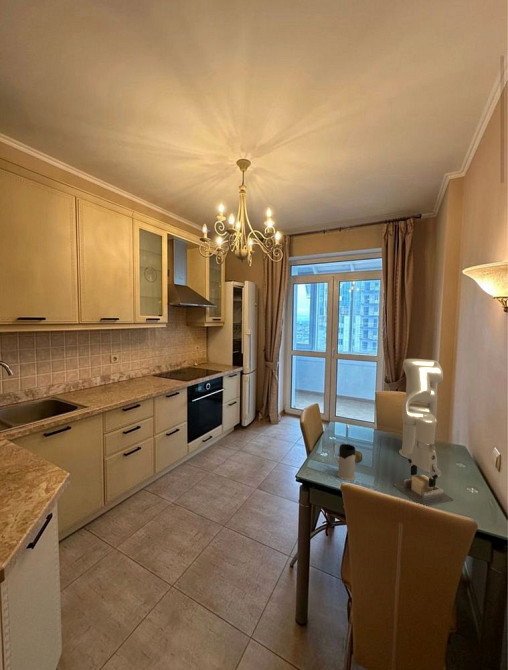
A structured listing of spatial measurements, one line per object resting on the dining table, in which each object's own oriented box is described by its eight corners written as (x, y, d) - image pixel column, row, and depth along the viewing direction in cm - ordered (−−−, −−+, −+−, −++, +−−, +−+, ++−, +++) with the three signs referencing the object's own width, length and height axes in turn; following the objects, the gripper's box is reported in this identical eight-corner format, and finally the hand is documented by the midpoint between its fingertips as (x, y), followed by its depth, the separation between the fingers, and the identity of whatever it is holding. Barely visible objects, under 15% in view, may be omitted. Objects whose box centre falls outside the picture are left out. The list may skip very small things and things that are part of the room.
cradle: (422, 480, 135) (422, 473, 135) (453, 500, 120) (453, 492, 120) (392, 485, 130) (393, 477, 130) (421, 506, 115) (422, 498, 115)
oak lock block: (422, 486, 128) (423, 474, 128) (432, 493, 124) (433, 480, 123) (411, 489, 126) (412, 476, 126) (420, 495, 122) (421, 482, 121)
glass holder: (345, 482, 131) (347, 452, 131) (326, 467, 144) (328, 440, 144) (359, 478, 135) (360, 449, 134) (339, 465, 148) (340, 438, 147)
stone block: (359, 464, 150) (359, 455, 150) (339, 457, 158) (339, 448, 157) (362, 460, 154) (363, 451, 154) (343, 453, 162) (343, 445, 162)
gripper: (448, 452, 117) (446, 490, 118) (414, 436, 134) (413, 469, 134) (435, 454, 115) (433, 492, 116) (402, 437, 132) (401, 471, 132)
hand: (422, 480), depth 125 cm, fingers open, 9 cm apart
